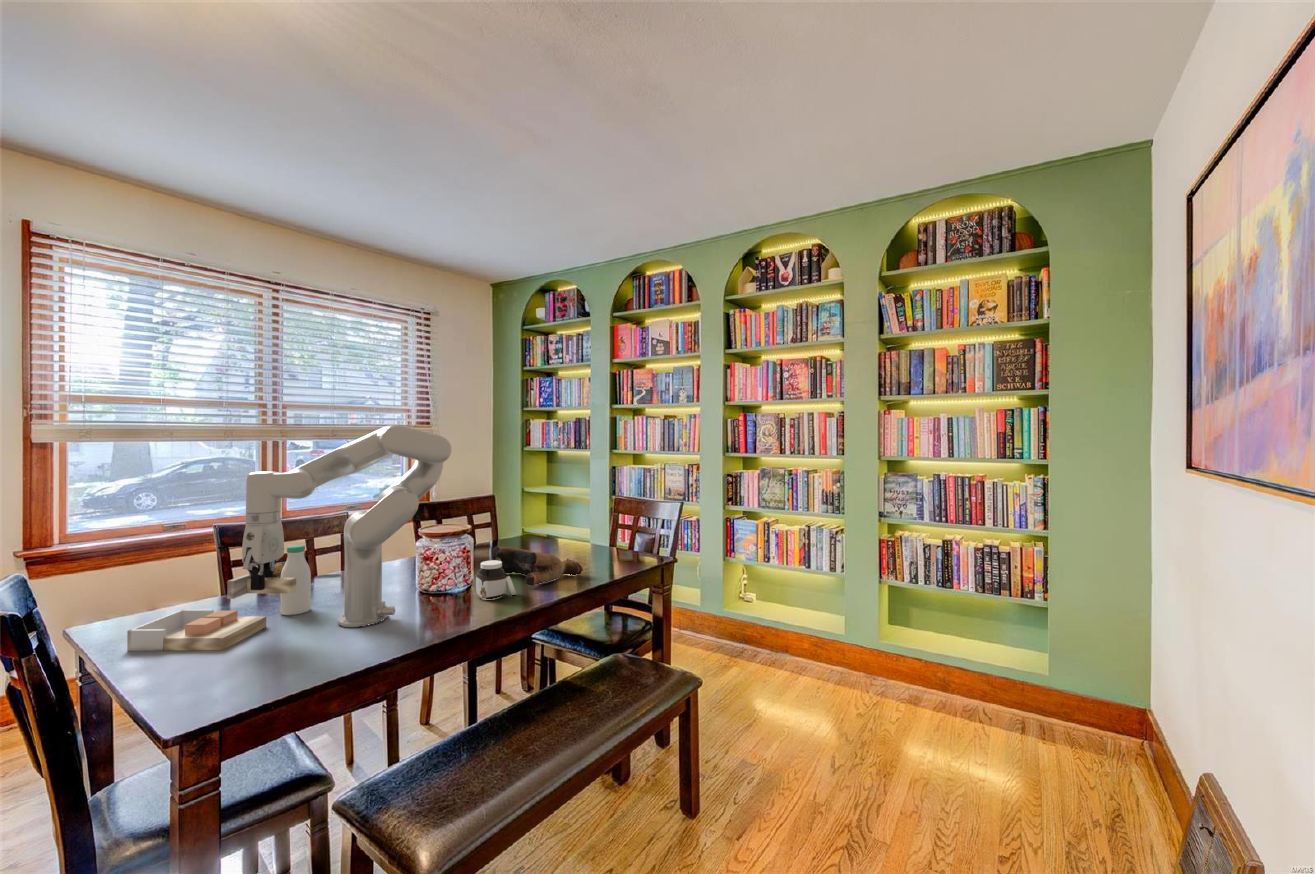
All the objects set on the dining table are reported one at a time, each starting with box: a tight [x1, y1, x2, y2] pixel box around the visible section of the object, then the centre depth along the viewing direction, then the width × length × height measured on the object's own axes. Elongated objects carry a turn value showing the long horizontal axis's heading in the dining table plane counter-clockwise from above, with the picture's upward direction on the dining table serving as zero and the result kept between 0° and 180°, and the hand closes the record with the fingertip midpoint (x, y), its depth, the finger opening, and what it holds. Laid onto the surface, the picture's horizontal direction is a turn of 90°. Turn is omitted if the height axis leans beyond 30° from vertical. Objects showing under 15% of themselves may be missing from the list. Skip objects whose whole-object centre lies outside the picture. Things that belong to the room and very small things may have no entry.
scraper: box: [226, 573, 296, 600], centre depth 142 cm, size 12×12×4 cm
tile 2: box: [204, 609, 239, 626], centre depth 145 cm, size 5×5×2 cm
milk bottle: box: [279, 544, 312, 616], centre depth 163 cm, size 8×8×20 cm
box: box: [126, 609, 215, 652], centre depth 141 cm, size 8×16×5 cm, turn 2°
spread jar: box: [475, 559, 517, 599], centre depth 179 cm, size 12×11×12 cm
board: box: [163, 615, 267, 652], centre depth 142 cm, size 14×16×3 cm
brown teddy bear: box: [492, 545, 584, 587], centre depth 205 cm, size 13×31×25 cm
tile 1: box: [185, 618, 221, 635], centre depth 139 cm, size 5×5×2 cm
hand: (261, 587), depth 142 cm, fingers closed on scraper, 2 cm apart
